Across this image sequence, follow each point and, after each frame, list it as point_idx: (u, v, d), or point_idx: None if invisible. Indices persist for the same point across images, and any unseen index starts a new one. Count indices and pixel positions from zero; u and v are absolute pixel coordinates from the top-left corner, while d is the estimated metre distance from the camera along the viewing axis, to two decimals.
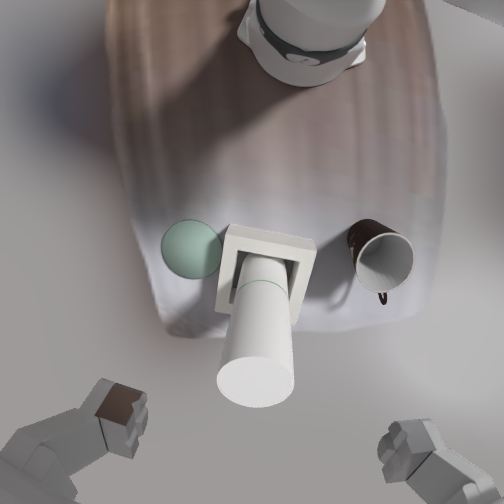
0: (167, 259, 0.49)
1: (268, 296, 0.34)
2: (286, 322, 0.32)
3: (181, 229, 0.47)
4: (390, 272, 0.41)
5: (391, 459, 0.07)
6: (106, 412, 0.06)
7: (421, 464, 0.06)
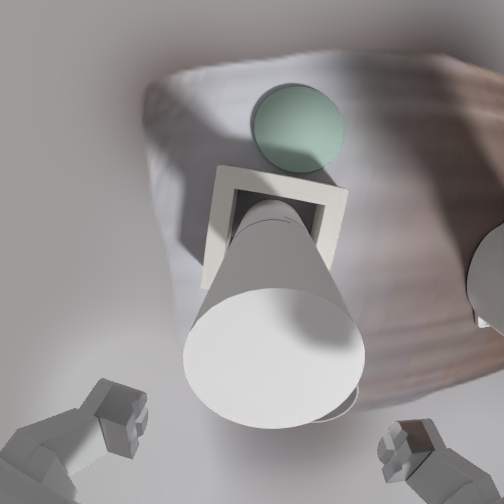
0: (284, 92, 0.30)
1: None
2: None
3: (331, 118, 0.30)
4: None
5: (391, 459, 0.07)
6: (106, 412, 0.06)
7: (421, 464, 0.06)
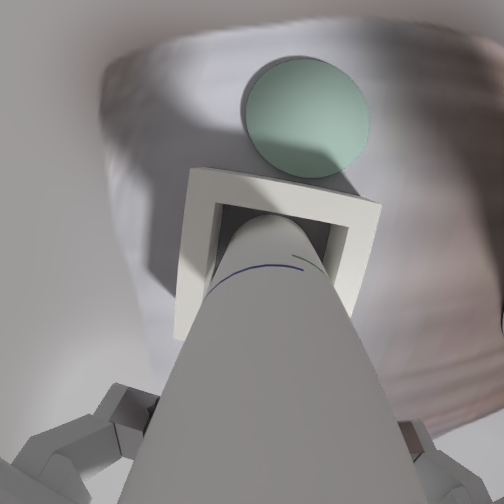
0: (288, 66, 0.20)
1: None
2: None
3: (353, 103, 0.21)
4: None
5: None
6: (121, 417, 0.06)
7: None
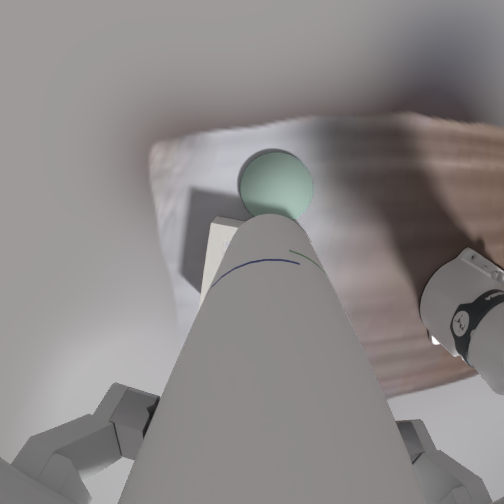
0: (265, 157, 0.40)
1: None
2: None
3: (303, 179, 0.40)
4: None
5: None
6: (121, 417, 0.06)
7: None
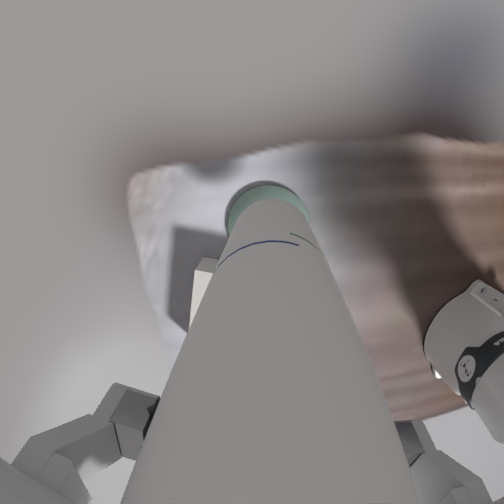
0: (255, 191, 0.36)
1: None
2: None
3: None
4: None
5: None
6: (121, 417, 0.06)
7: (410, 466, 0.06)
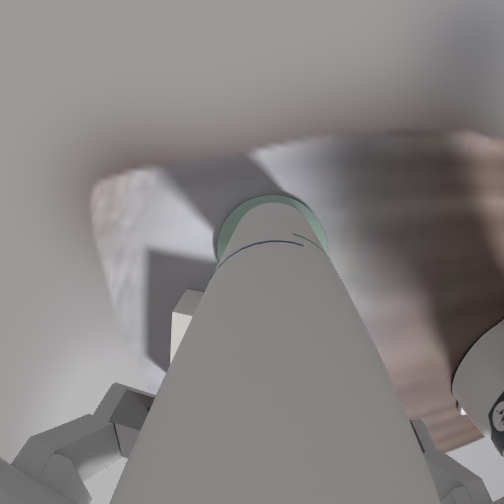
0: (253, 204, 0.26)
1: None
2: None
3: None
4: None
5: None
6: (121, 417, 0.06)
7: None
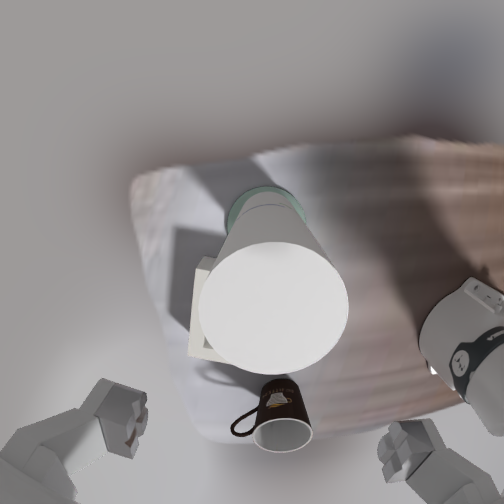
0: (253, 192, 0.37)
1: None
2: None
3: None
4: (263, 430, 0.41)
5: (391, 459, 0.07)
6: (106, 412, 0.06)
7: (421, 464, 0.06)
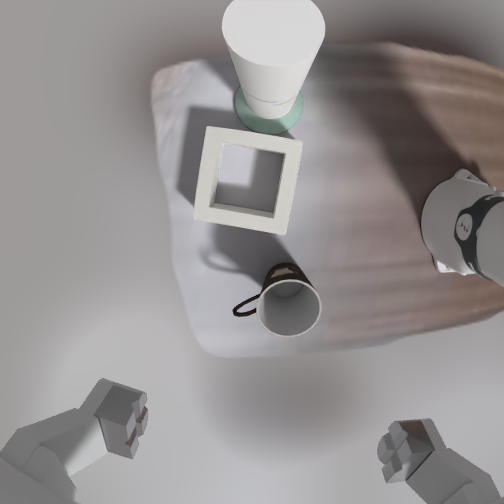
0: None
1: None
2: (295, 85, 0.24)
3: None
4: (267, 313, 0.43)
5: (391, 459, 0.07)
6: (106, 412, 0.06)
7: (421, 464, 0.06)
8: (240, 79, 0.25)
